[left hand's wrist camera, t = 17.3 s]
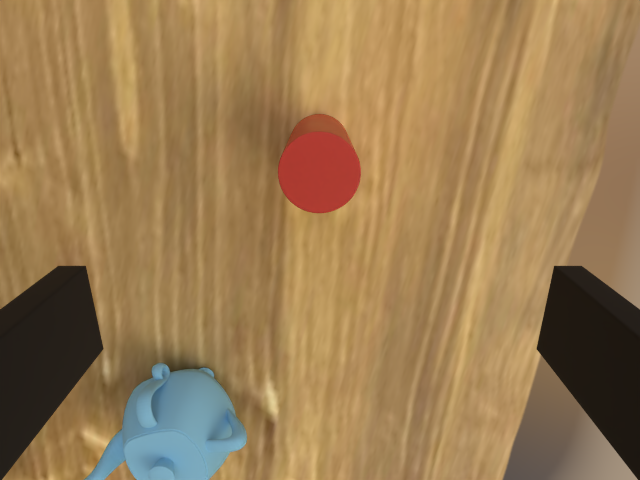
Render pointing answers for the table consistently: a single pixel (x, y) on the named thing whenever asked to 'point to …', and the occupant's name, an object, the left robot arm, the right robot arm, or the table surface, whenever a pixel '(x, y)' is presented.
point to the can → (319, 165)
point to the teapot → (174, 428)
